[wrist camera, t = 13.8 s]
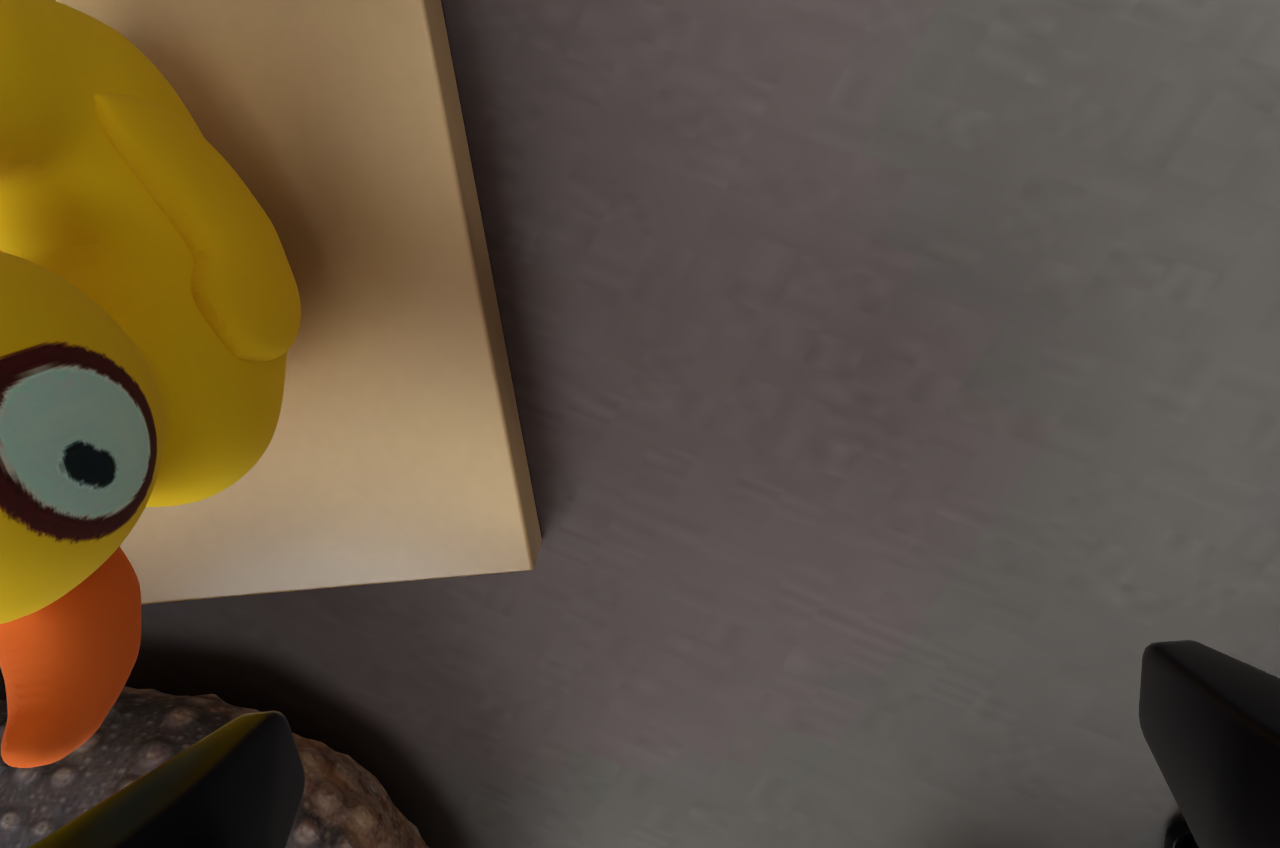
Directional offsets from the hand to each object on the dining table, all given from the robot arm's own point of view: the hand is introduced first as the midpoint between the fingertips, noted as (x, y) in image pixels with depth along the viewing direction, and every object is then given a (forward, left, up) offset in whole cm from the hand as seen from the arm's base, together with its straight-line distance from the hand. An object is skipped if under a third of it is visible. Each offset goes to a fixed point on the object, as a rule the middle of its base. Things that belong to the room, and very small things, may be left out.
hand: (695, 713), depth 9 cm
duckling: (+4, +10, -11) cm, 16 cm away
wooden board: (+4, +10, -13) cm, 17 cm away
